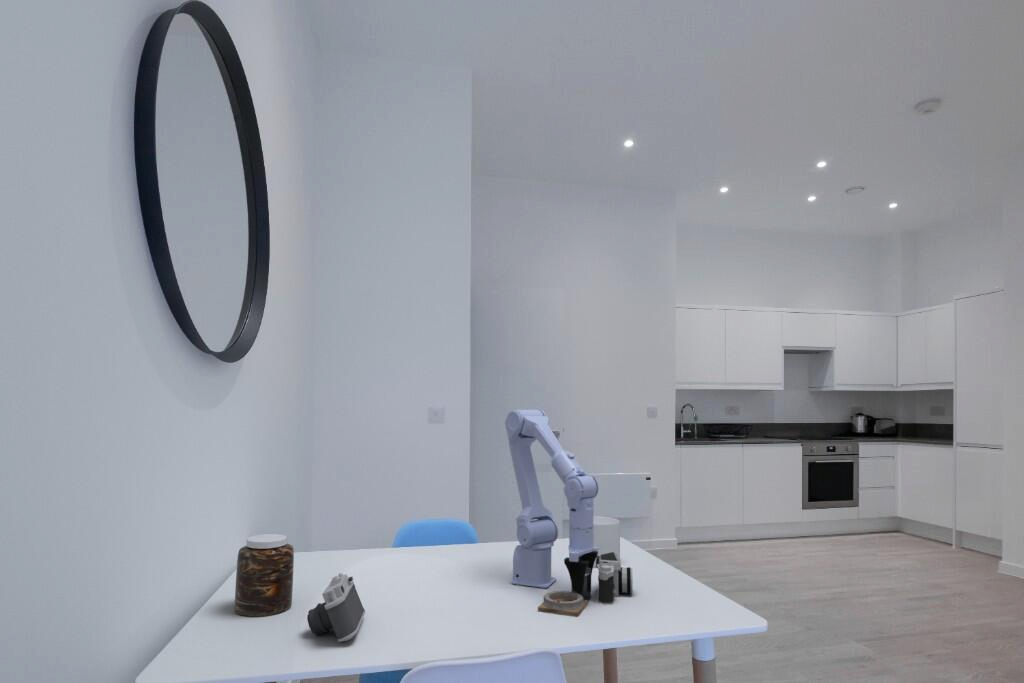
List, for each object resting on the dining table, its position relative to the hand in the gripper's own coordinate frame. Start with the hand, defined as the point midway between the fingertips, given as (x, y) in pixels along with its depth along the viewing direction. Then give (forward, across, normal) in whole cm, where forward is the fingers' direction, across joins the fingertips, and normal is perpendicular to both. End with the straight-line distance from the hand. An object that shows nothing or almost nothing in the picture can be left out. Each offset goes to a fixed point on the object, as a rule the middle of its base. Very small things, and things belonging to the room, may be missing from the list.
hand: (581, 586), depth 143 cm
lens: (+3, 0, 0) cm, 3 cm away
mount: (+3, -8, +2) cm, 9 cm away
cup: (+3, +33, +4) cm, 34 cm away
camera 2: (+3, +6, -6) cm, 9 cm away
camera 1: (+3, -40, +40) cm, 56 cm away
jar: (+3, -34, +63) cm, 71 cm away
